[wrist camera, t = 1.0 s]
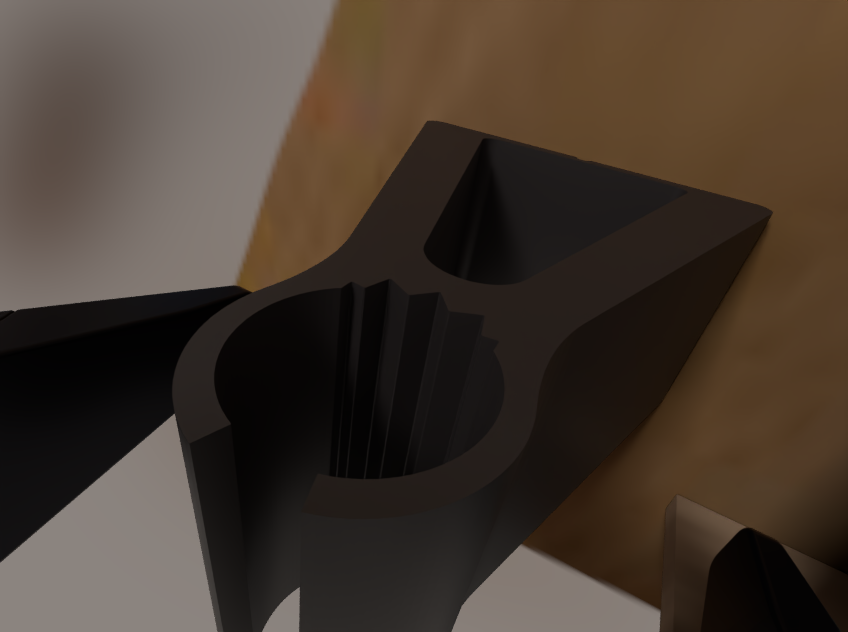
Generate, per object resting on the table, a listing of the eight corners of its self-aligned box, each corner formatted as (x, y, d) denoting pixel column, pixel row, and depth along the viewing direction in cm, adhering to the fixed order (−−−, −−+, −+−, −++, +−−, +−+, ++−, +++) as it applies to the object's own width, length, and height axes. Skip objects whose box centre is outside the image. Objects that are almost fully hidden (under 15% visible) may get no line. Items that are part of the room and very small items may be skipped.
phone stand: (406, 291, 17) (51, 580, 8) (433, 117, 14) (-131, 243, 4) (661, 394, 14) (607, 1049, 5) (771, 208, 11) (1282, 1113, 2)
